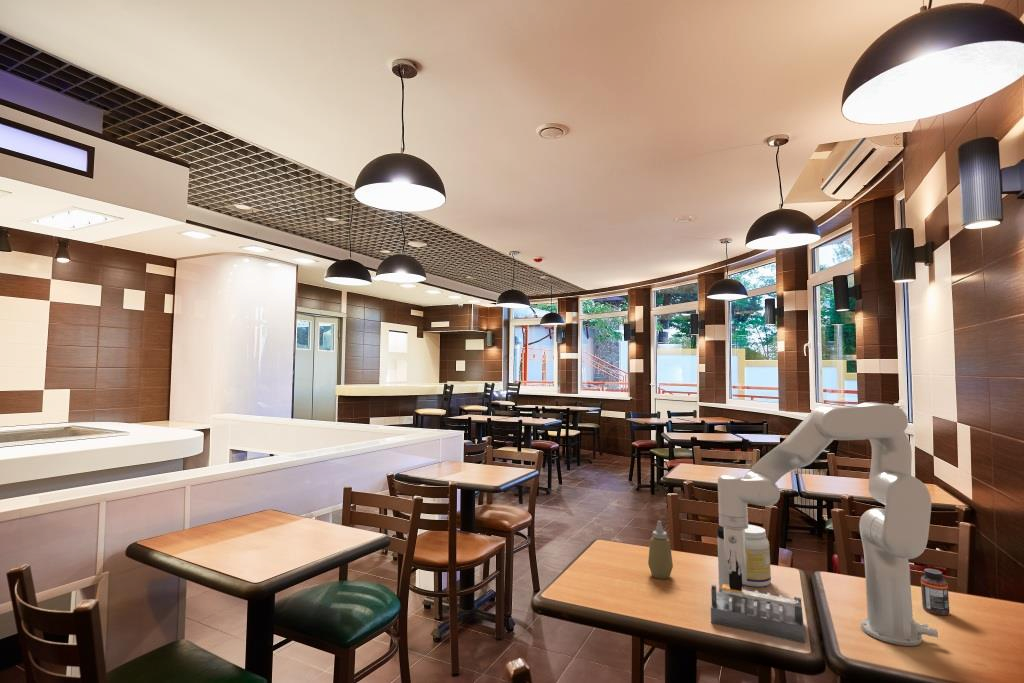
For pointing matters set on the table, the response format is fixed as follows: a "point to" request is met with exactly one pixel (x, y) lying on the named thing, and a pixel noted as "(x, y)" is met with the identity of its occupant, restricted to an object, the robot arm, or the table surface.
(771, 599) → the white orange stick
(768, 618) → the heatsink block
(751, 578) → the supplement tub
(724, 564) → the travel mug
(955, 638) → the table surface
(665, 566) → the squeeze bottle
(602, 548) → the table surface
